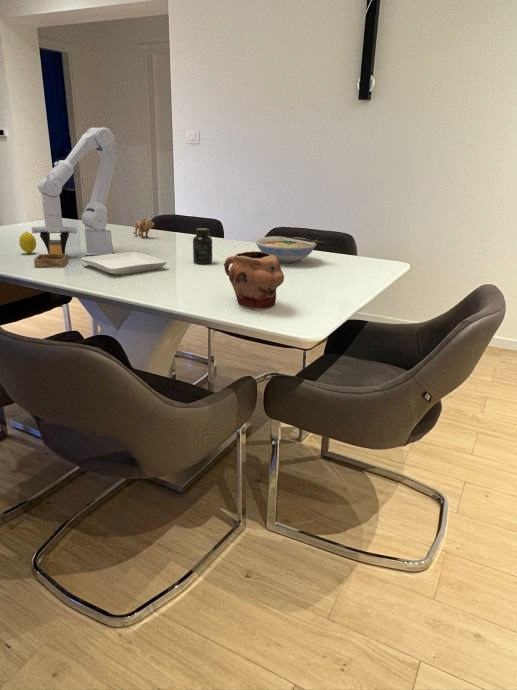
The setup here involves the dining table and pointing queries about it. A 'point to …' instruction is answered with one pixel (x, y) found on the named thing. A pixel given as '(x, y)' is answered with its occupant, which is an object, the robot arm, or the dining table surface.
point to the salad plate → (124, 263)
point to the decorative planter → (254, 278)
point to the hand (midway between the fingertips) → (56, 253)
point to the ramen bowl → (287, 247)
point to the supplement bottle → (202, 247)
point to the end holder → (51, 260)
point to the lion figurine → (143, 227)
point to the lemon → (27, 242)
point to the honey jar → (55, 247)
